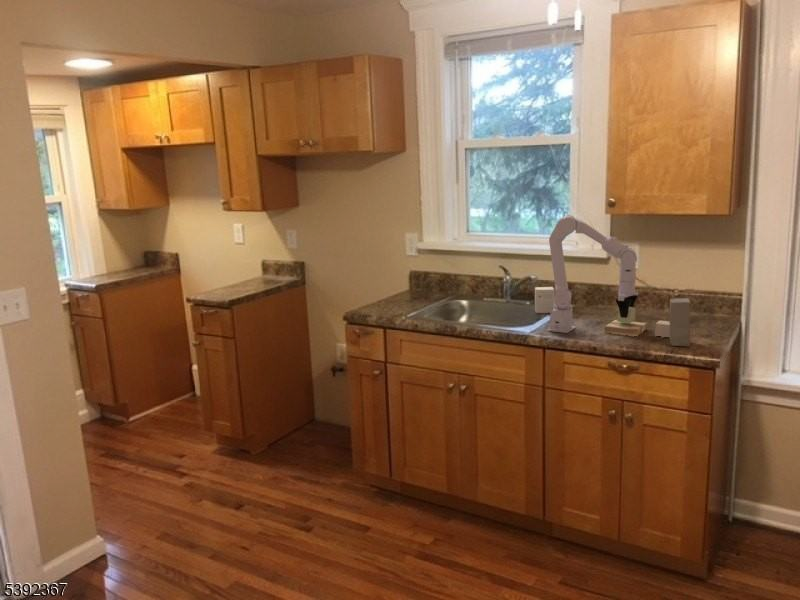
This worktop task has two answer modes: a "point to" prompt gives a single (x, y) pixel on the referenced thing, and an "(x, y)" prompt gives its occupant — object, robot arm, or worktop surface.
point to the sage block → (629, 318)
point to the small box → (544, 299)
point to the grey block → (662, 329)
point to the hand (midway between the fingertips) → (626, 315)
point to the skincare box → (679, 322)
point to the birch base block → (625, 328)
